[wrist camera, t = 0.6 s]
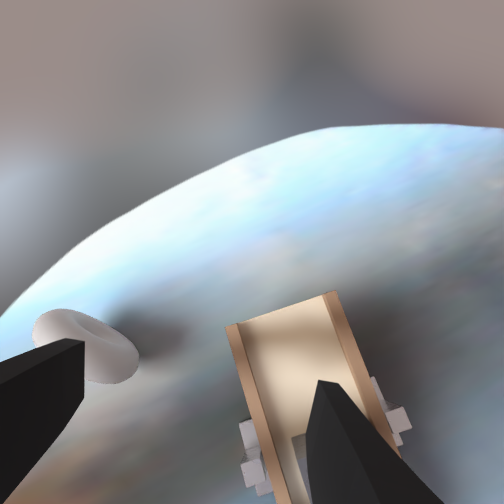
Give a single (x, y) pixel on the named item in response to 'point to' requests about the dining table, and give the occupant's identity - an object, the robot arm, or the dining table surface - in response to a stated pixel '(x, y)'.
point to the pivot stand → (253, 455)
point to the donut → (90, 344)
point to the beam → (298, 380)
